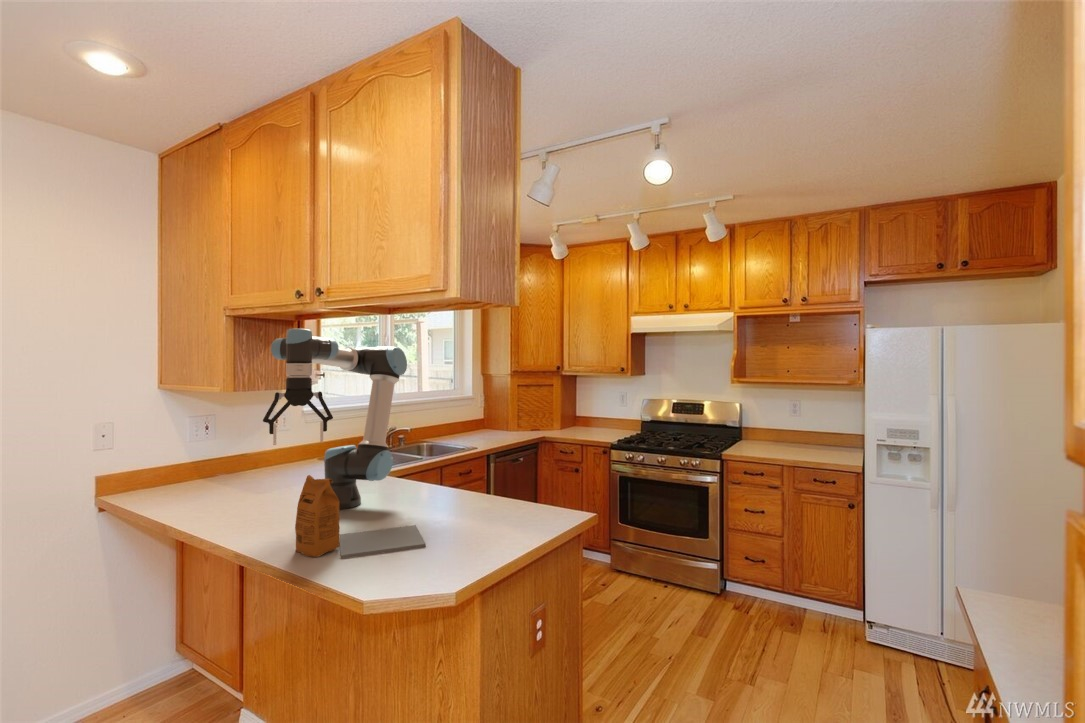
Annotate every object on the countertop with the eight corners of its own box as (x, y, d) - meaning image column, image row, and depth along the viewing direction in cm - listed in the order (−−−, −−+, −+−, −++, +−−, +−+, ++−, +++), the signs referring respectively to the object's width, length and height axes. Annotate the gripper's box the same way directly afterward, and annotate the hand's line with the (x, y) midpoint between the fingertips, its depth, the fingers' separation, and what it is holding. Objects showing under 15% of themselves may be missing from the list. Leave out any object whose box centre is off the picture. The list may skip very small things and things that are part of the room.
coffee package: (320, 541, 162) (320, 471, 162) (344, 549, 155) (343, 476, 155) (289, 551, 154) (289, 477, 154) (313, 560, 147) (312, 482, 147)
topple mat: (339, 537, 166) (339, 534, 166) (415, 527, 175) (415, 525, 175) (340, 558, 147) (340, 555, 147) (425, 546, 156) (425, 543, 156)
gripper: (253, 377, 157) (253, 447, 157) (341, 376, 168) (341, 442, 167) (255, 377, 164) (255, 444, 163) (339, 376, 175) (339, 439, 174)
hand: (298, 443), depth 165 cm, fingers open, 13 cm apart
